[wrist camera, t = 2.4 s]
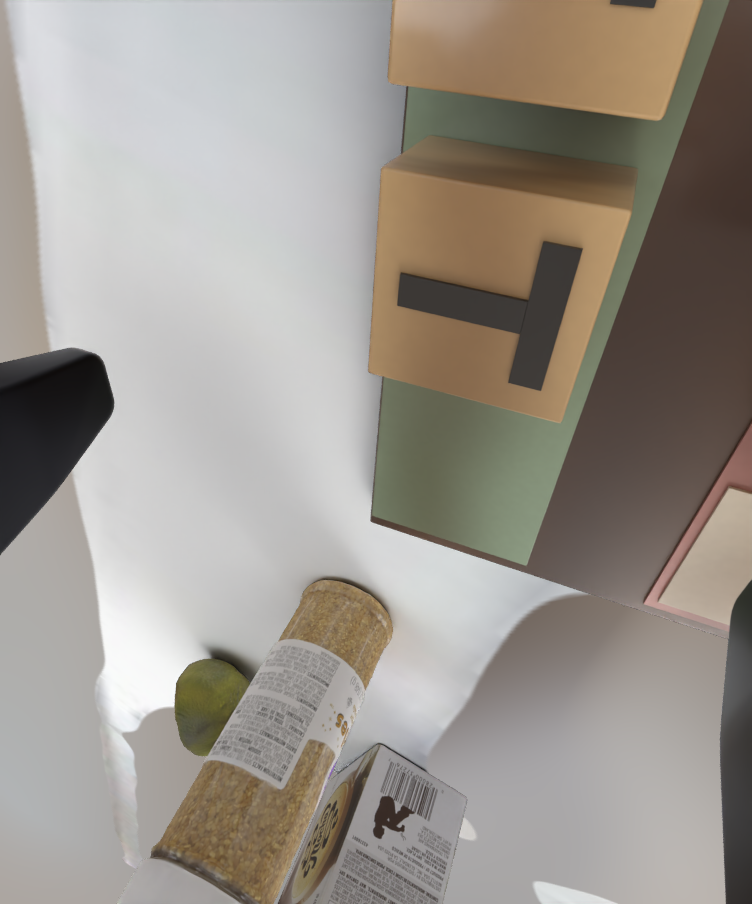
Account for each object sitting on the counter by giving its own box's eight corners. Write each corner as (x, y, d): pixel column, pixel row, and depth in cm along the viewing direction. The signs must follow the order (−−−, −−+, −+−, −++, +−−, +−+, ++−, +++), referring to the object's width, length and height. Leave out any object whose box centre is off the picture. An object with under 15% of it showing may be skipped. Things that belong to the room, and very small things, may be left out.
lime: (256, 700, 37) (211, 780, 33) (191, 657, 36) (139, 733, 33) (281, 679, 34) (235, 763, 30) (211, 631, 33) (155, 711, 30)
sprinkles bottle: (390, 654, 28) (240, 1018, 18) (303, 619, 29) (117, 947, 19) (401, 597, 25) (230, 997, 15) (304, 560, 26) (85, 913, 16)
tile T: (639, 167, 12) (632, 212, 10) (576, 358, 15) (560, 427, 13) (428, 133, 13) (378, 167, 11) (407, 319, 16) (365, 375, 14)
